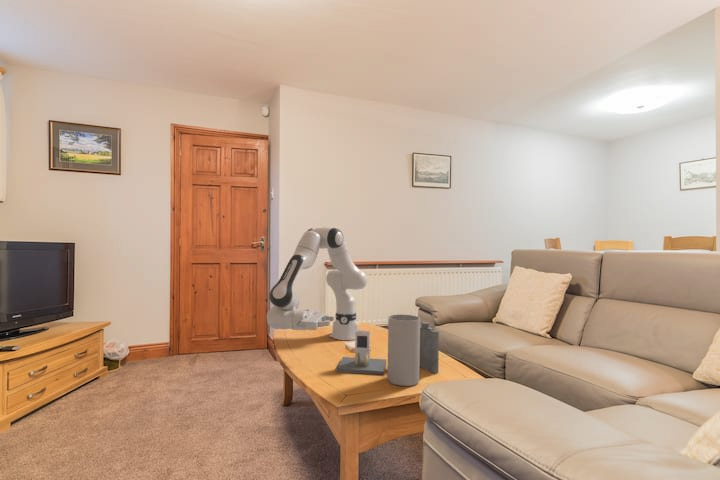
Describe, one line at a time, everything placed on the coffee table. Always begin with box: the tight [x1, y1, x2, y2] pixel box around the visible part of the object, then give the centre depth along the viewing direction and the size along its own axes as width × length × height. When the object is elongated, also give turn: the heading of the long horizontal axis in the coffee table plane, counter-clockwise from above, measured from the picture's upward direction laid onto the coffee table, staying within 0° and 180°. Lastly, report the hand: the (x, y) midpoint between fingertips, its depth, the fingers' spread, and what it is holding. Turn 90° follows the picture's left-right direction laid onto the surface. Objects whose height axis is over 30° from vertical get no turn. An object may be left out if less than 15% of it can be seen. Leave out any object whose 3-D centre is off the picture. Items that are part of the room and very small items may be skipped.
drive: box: [354, 329, 371, 365], centre depth 159 cm, size 4×6×14 cm, turn 82°
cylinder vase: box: [387, 314, 421, 387], centre depth 143 cm, size 12×12×25 cm
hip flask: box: [419, 321, 440, 375], centre depth 159 cm, size 16×4×20 cm, turn 36°
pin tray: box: [335, 355, 387, 376], centre depth 158 cm, size 16×20×6 cm
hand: (331, 321), depth 162 cm, fingers open, 8 cm apart
